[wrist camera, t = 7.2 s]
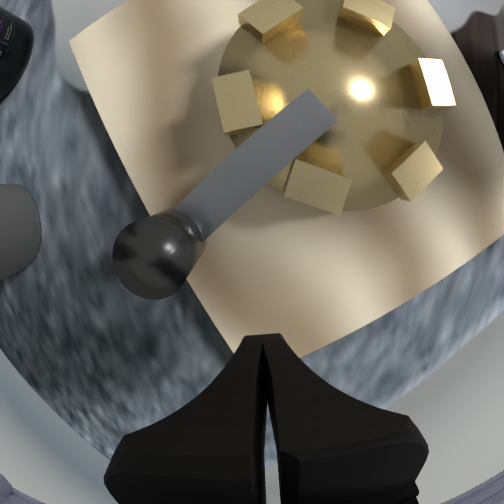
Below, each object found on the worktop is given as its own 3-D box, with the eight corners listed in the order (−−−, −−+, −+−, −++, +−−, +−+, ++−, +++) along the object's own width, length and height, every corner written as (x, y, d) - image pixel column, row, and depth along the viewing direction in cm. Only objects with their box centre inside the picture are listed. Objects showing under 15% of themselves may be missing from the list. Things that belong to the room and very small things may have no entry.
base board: (358, -58, 11) (365, -71, 9) (506, 217, 15) (522, 221, 13) (80, 49, 13) (67, 40, 11) (251, 364, 17) (251, 380, 16)
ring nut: (452, 127, 12) (522, 116, 7) (242, 319, 15) (238, 389, 9) (327, -12, 11) (354, -73, 5) (103, 173, 13) (32, 175, 8)
